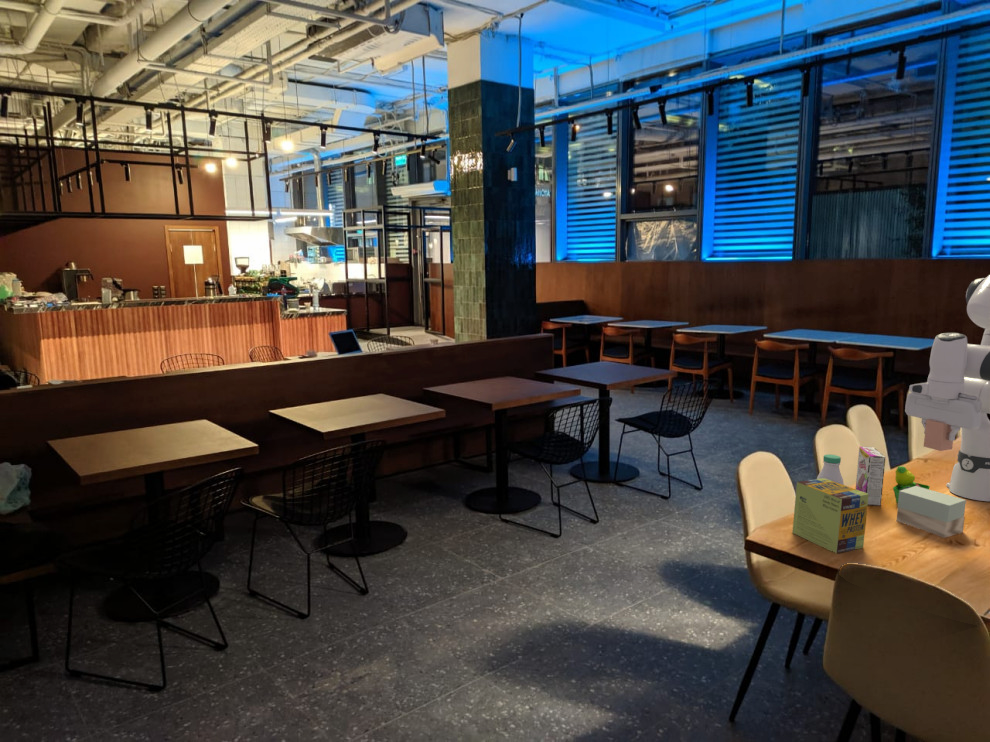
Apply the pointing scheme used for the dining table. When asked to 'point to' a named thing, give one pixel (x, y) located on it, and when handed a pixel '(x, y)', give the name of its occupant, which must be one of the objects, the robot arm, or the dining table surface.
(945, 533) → the tower base
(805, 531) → the protein box
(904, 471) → the green toy figure
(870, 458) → the candy bar box
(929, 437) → the block
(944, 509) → the tower top
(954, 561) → the dining table surface
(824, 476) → the milk bottle
